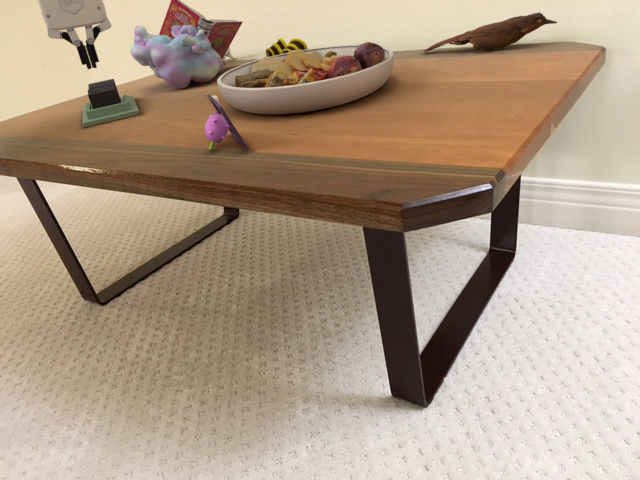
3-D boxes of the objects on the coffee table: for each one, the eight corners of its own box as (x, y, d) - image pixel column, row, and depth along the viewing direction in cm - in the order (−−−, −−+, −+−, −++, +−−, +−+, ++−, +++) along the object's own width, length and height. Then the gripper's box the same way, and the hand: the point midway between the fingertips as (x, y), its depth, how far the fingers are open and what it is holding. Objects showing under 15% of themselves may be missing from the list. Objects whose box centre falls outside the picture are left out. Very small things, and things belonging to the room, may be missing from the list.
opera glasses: (268, 66, 126) (260, 45, 123) (284, 56, 129) (277, 36, 126) (295, 68, 120) (287, 46, 117) (311, 58, 122) (304, 36, 119)
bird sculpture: (429, 61, 113) (424, 37, 111) (559, 30, 101) (556, 2, 99) (422, 70, 108) (416, 45, 106) (558, 38, 96) (554, 9, 94)
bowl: (188, 122, 89) (175, 73, 85) (276, 75, 112) (268, 35, 108) (357, 120, 76) (350, 63, 72) (417, 68, 99) (414, 22, 95)
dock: (83, 127, 97) (74, 101, 95) (83, 110, 110) (75, 86, 108) (139, 114, 99) (131, 88, 97) (133, 98, 113) (126, 75, 111)
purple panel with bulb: (226, 102, 68) (213, 90, 76) (191, 125, 68) (181, 111, 75) (253, 146, 72) (238, 130, 79) (221, 168, 71) (208, 150, 79)
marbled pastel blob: (113, 77, 111) (132, -10, 102) (141, 54, 129) (160, -22, 121) (208, 115, 115) (235, 33, 107) (223, 87, 133) (246, 15, 125)
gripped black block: (95, 116, 100) (87, 95, 98) (94, 110, 105) (87, 89, 103) (122, 110, 101) (115, 88, 99) (121, 104, 106) (114, 83, 104)
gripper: (5, -40, 85) (47, 78, 94) (103, -53, 89) (135, 62, 98) (10, -38, 91) (50, 73, 100) (101, -50, 95) (132, 57, 104)
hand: (92, 67), depth 99 cm, fingers closed
